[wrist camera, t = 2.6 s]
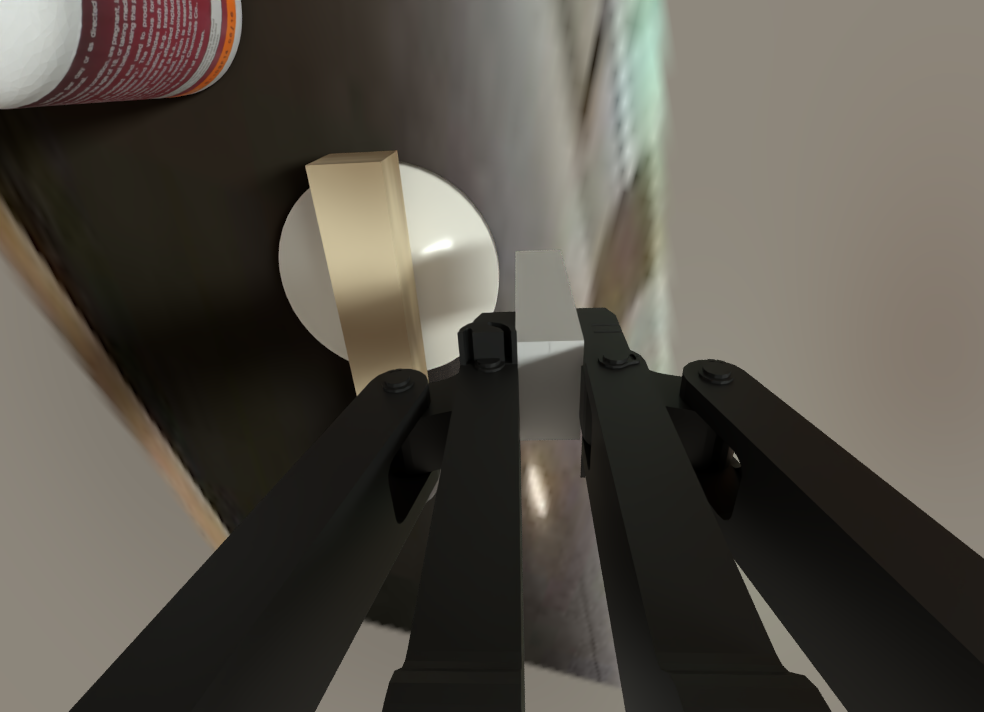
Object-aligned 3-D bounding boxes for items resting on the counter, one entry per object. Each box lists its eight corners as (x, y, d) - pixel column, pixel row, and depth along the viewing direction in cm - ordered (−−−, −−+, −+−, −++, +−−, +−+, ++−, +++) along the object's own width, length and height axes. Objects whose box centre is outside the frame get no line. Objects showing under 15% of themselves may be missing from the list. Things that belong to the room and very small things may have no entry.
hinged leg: (451, 449, 26) (441, 506, 23) (390, 450, 26) (371, 507, 23) (414, 144, 19) (392, 162, 15) (330, 149, 19) (290, 167, 15)
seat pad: (262, 165, 20) (251, 170, 19) (493, 154, 19) (492, 158, 18) (315, 364, 24) (307, 375, 23) (503, 359, 23) (503, 371, 23)
